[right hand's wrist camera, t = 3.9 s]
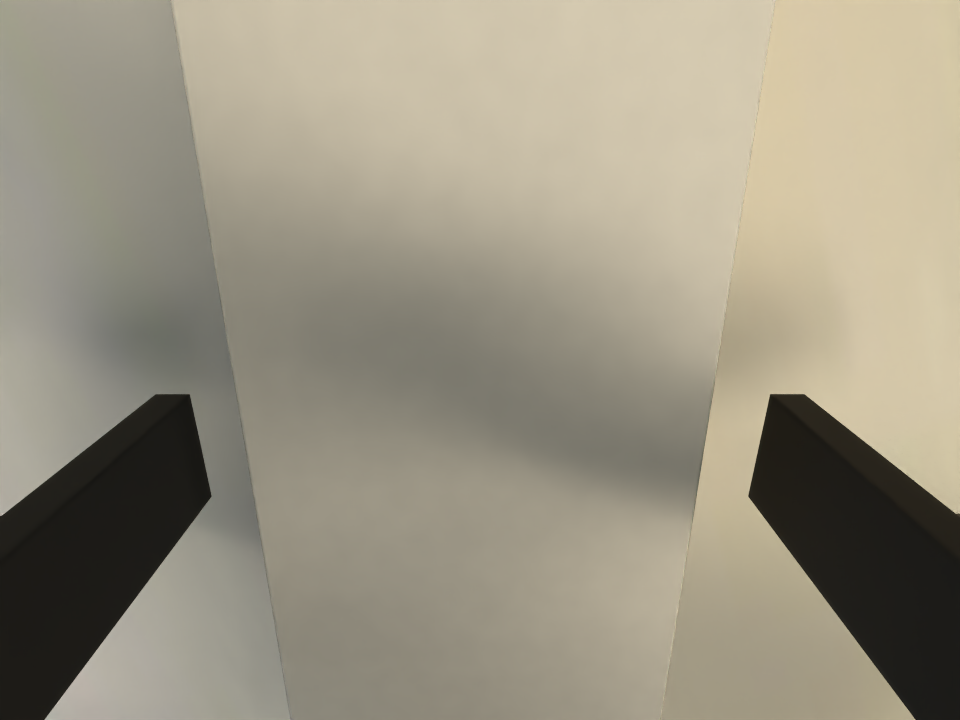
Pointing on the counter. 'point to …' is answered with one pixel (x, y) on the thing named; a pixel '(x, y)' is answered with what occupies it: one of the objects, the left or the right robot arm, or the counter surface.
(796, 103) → the counter surface
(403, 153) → the wide beam
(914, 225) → the counter surface
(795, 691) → the counter surface
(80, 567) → the right robot arm
